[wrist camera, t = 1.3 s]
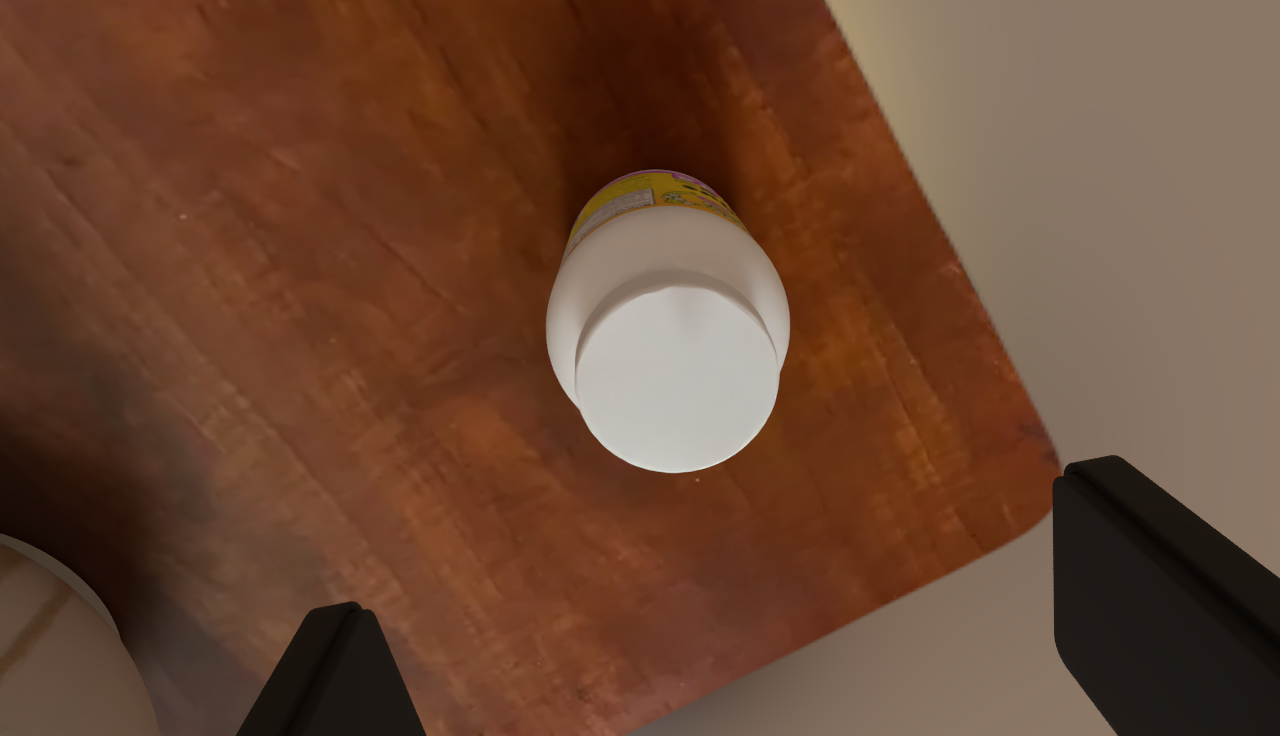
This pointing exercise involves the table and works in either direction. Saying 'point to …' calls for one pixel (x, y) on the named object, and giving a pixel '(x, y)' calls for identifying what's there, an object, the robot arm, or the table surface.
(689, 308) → the supplement bottle
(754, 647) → the table surface
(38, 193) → the table surface
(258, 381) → the table surface
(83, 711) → the decorative bowl
